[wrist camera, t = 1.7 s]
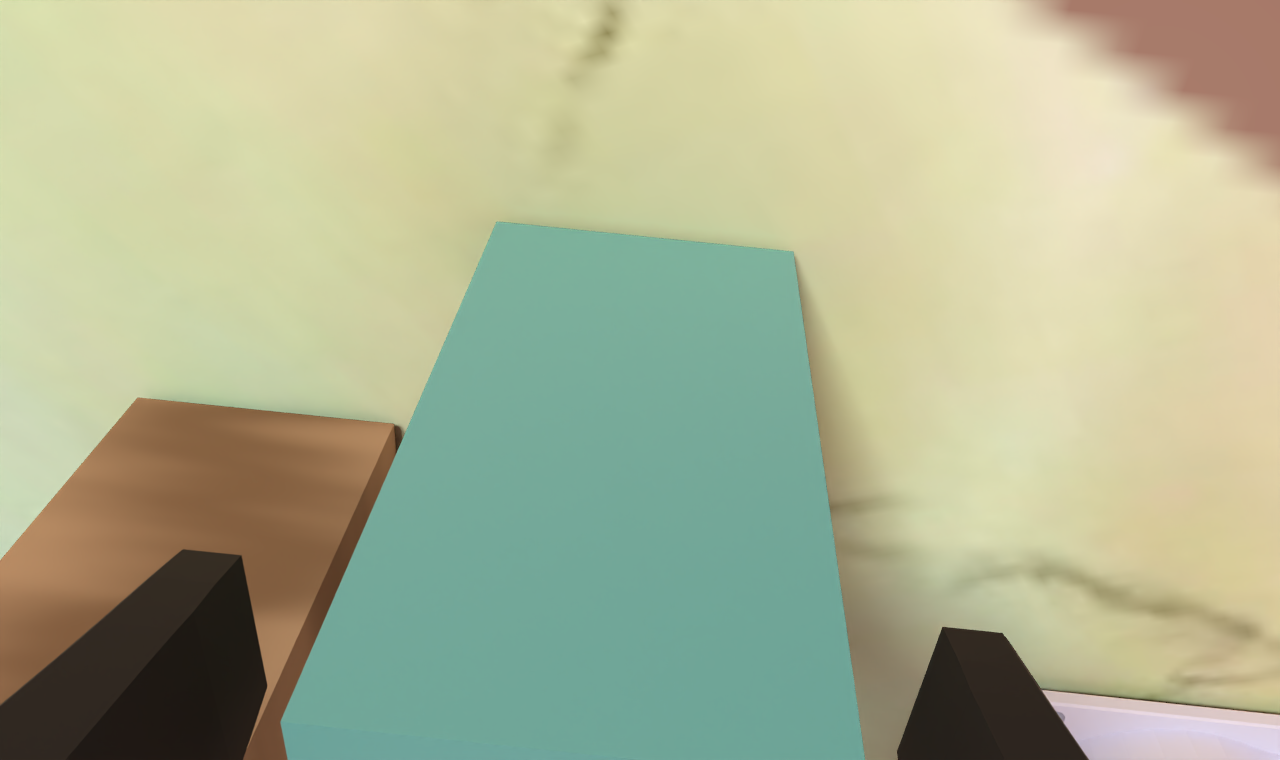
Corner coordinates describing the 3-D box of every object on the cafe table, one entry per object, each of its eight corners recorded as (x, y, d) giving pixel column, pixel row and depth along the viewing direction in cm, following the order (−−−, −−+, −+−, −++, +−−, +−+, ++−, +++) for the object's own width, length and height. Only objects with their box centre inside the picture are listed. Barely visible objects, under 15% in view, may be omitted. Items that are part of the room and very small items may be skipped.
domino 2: (793, 251, 17) (869, 783, 8) (774, 352, 18) (825, 909, 10) (496, 221, 17) (279, 721, 8) (496, 323, 18) (305, 854, 10)
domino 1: (393, 423, 19) (150, 961, 11) (399, 502, 20) (182, 1044, 12) (137, 397, 19) (-299, 914, 11) (157, 477, 20) (-225, 1000, 12)
